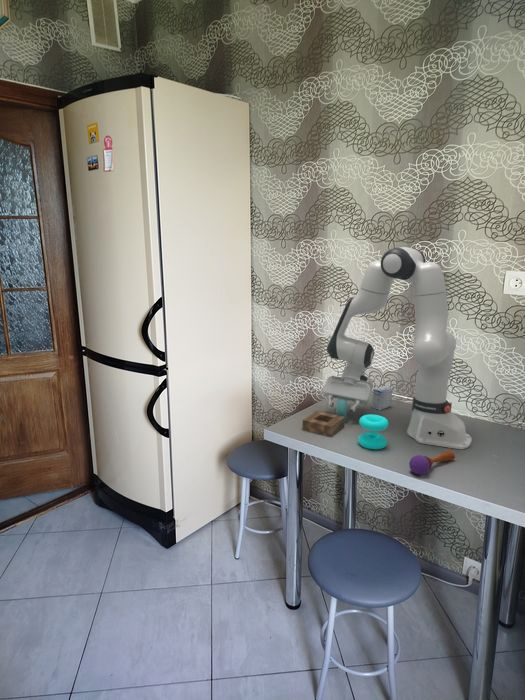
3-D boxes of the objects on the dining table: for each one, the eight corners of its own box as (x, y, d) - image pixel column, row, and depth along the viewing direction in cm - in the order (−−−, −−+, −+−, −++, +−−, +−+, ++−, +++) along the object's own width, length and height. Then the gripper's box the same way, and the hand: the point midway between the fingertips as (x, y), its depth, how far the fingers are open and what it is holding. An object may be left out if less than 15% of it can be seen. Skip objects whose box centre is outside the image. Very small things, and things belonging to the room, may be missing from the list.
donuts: (383, 425, 155) (355, 419, 160) (381, 453, 157) (353, 446, 162) (392, 416, 163) (365, 411, 168) (390, 443, 165) (363, 436, 170)
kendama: (461, 452, 150) (424, 463, 138) (455, 467, 152) (418, 480, 140) (445, 442, 154) (408, 453, 142) (440, 457, 156) (403, 469, 144)
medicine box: (382, 404, 206) (384, 385, 204) (391, 406, 203) (392, 387, 201) (371, 407, 201) (373, 388, 199) (380, 410, 198) (381, 391, 196)
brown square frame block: (343, 426, 180) (344, 416, 179) (331, 436, 170) (331, 426, 169) (316, 420, 186) (316, 410, 185) (302, 429, 176) (302, 419, 175)
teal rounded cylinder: (347, 421, 185) (348, 400, 183) (343, 424, 182) (344, 402, 180) (338, 419, 187) (339, 398, 185) (334, 422, 184) (335, 400, 182)
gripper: (326, 371, 192) (315, 399, 186) (374, 379, 182) (363, 409, 176) (330, 379, 197) (319, 407, 191) (377, 387, 186) (367, 417, 180)
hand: (341, 408), depth 183 cm, fingers open, 8 cm apart
